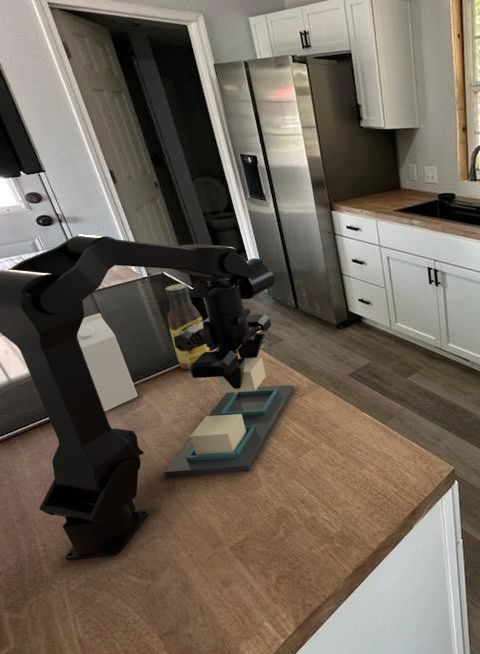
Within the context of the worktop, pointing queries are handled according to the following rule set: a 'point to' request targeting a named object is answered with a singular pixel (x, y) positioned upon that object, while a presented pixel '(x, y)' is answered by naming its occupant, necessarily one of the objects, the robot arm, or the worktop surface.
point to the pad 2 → (247, 377)
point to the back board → (259, 421)
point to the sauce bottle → (183, 321)
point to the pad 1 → (218, 434)
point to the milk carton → (105, 362)
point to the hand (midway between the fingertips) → (243, 379)
